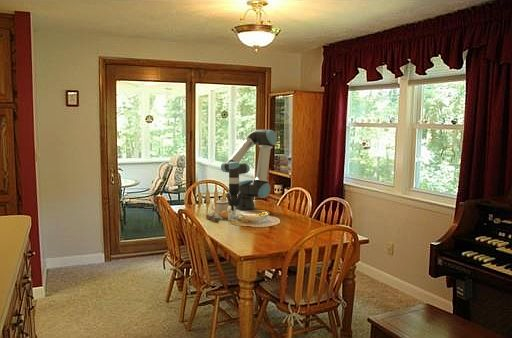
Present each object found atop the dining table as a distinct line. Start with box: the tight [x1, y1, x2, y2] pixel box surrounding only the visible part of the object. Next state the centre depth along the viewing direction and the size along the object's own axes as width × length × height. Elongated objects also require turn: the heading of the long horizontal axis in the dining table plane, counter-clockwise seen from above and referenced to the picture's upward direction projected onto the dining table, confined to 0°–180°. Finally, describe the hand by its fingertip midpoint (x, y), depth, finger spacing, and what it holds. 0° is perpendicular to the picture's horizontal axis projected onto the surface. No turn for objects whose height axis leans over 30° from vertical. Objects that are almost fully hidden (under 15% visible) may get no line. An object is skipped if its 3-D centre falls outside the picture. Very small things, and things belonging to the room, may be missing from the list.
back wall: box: [205, 213, 219, 223], centre depth 322 cm, size 14×2×3 cm, turn 35°
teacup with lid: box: [211, 198, 228, 216], centre depth 344 cm, size 12×9×12 cm
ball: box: [220, 210, 228, 219], centre depth 327 cm, size 6×6×6 cm
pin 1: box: [209, 210, 221, 220], centre depth 323 cm, size 2×2×8 cm
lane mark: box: [219, 215, 240, 221], centre depth 330 cm, size 18×8×1 cm, turn 125°
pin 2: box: [227, 207, 232, 222], centre depth 321 cm, size 2×2×8 cm
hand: (233, 214), depth 332 cm, fingers closed
